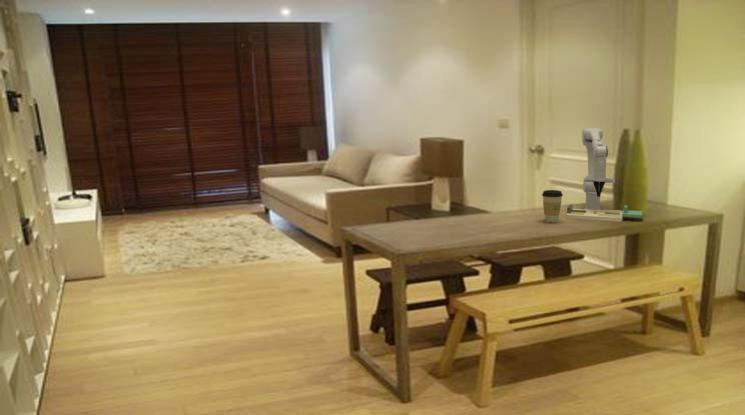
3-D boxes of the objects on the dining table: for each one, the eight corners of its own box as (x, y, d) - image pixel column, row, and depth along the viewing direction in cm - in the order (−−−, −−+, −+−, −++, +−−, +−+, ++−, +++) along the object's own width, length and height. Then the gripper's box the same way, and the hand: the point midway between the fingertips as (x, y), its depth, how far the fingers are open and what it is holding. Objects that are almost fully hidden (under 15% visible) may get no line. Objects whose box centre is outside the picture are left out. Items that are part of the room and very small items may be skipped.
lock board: (570, 212, 323) (570, 206, 322) (623, 215, 312) (623, 209, 311) (566, 218, 308) (566, 212, 308) (621, 221, 298) (622, 215, 297)
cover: (622, 212, 308) (623, 204, 307) (642, 213, 304) (642, 205, 303) (621, 216, 300) (622, 207, 299) (641, 217, 296) (642, 208, 295)
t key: (569, 209, 319) (569, 204, 319) (586, 210, 316) (586, 205, 315) (567, 213, 311) (567, 207, 311) (584, 214, 308) (585, 208, 307)
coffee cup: (564, 223, 299) (565, 192, 296) (544, 223, 299) (544, 193, 296) (558, 218, 308) (559, 189, 306) (539, 219, 309) (539, 190, 306)
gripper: (583, 170, 308) (582, 197, 311) (614, 171, 302) (613, 198, 305) (585, 168, 314) (584, 194, 317) (615, 169, 308) (614, 196, 311)
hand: (598, 196), depth 311 cm, fingers closed
